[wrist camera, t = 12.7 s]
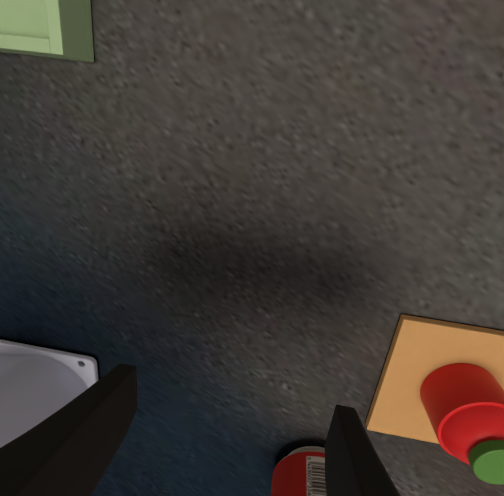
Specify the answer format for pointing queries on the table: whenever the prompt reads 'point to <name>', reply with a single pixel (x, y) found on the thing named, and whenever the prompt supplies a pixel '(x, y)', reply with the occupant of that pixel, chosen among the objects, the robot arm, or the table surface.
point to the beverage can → (300, 473)
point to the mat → (427, 370)
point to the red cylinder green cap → (468, 417)
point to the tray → (47, 28)
